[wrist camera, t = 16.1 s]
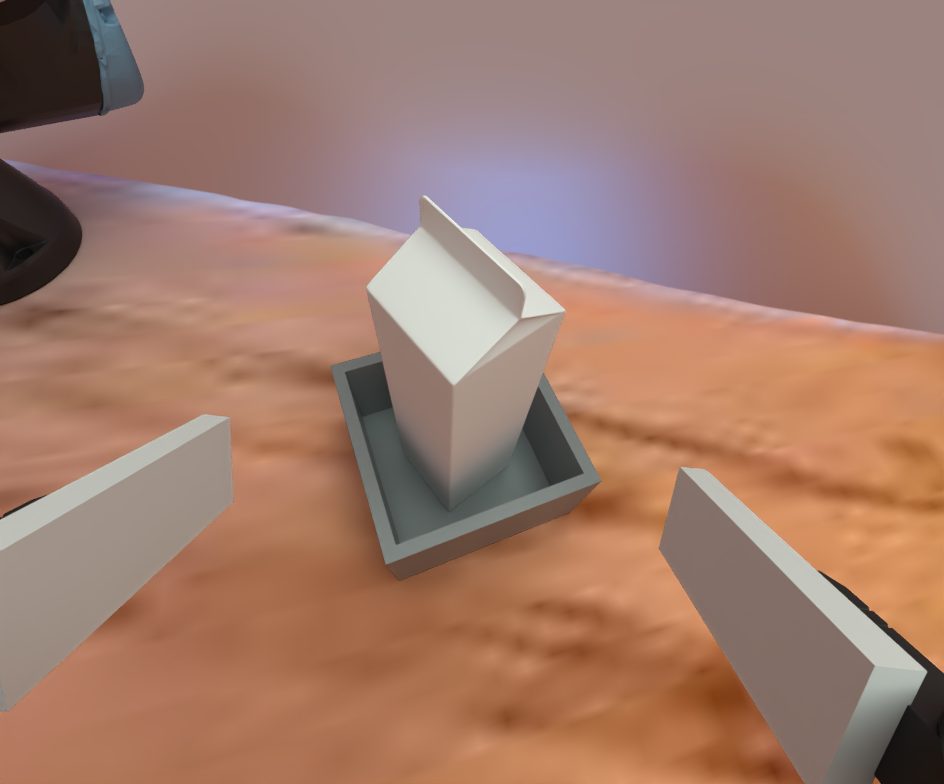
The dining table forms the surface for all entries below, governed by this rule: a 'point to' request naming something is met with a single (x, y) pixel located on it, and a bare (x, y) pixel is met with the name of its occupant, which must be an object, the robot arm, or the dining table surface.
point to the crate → (486, 510)
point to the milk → (459, 351)
